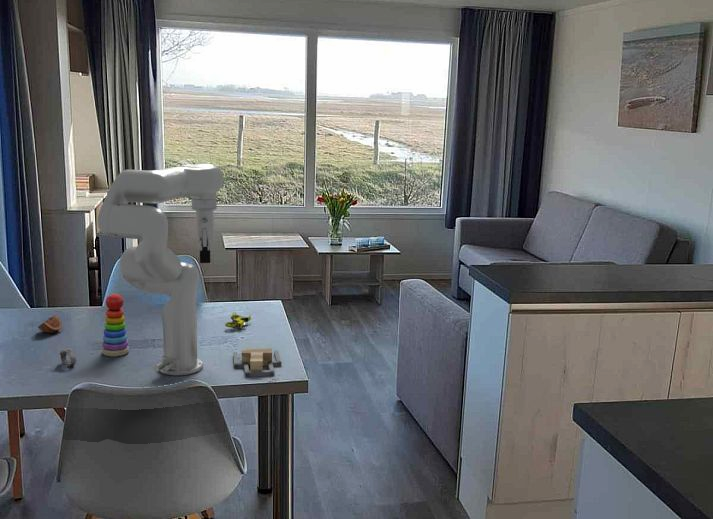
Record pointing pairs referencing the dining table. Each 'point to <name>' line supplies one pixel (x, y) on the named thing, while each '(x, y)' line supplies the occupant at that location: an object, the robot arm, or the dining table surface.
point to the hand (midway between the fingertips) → (205, 262)
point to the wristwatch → (70, 354)
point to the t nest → (258, 373)
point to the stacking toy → (115, 328)
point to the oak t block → (257, 358)
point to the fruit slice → (51, 325)
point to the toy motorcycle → (238, 321)
